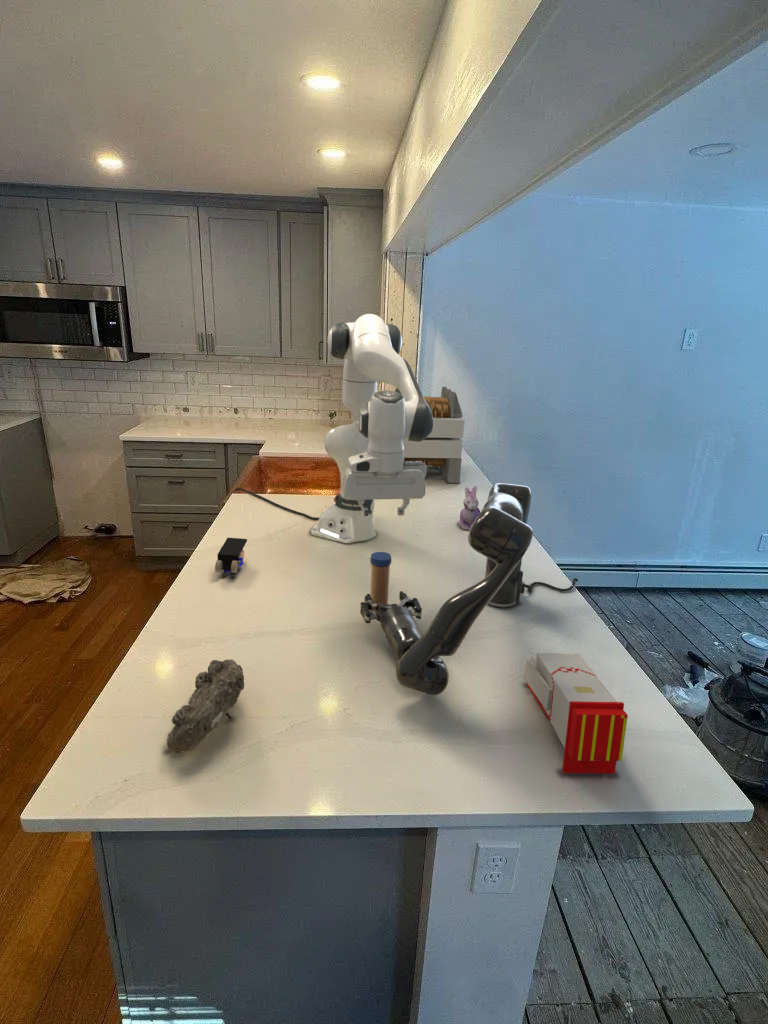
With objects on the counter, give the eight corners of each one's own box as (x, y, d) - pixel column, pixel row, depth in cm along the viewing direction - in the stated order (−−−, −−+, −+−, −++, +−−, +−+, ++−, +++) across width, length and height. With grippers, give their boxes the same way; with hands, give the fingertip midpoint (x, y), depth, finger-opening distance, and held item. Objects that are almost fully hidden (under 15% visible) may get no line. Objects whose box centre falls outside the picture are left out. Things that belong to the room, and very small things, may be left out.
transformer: (382, 463, 289) (386, 382, 275) (445, 464, 293) (451, 384, 279) (390, 482, 257) (394, 392, 243) (460, 483, 261) (468, 394, 247)
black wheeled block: (238, 584, 162) (249, 557, 175) (236, 562, 158) (247, 536, 172) (215, 584, 161) (227, 556, 175) (212, 561, 158) (225, 535, 171)
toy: (573, 635, 123) (638, 710, 94) (567, 691, 126) (628, 782, 97) (518, 633, 123) (565, 709, 93) (513, 690, 125) (557, 781, 96)
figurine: (467, 532, 204) (471, 492, 198) (451, 522, 212) (455, 484, 207) (488, 528, 208) (493, 489, 203) (472, 519, 216) (476, 482, 211)
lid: (395, 564, 144) (395, 558, 143) (376, 568, 141) (376, 561, 141) (385, 556, 148) (385, 550, 147) (366, 560, 146) (367, 553, 145)
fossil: (192, 660, 117) (244, 628, 112) (224, 691, 120) (276, 661, 115) (142, 746, 98) (202, 712, 93) (182, 779, 101) (242, 748, 96)
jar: (390, 612, 148) (393, 559, 143) (374, 615, 146) (376, 562, 141) (382, 603, 152) (385, 552, 147) (366, 607, 150) (368, 555, 145)
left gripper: (424, 457, 140) (420, 510, 145) (341, 457, 137) (340, 511, 141) (430, 464, 135) (426, 518, 139) (345, 464, 131) (344, 520, 135)
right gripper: (432, 612, 128) (412, 580, 143) (370, 618, 125) (356, 584, 140) (429, 641, 131) (410, 606, 146) (369, 647, 127) (356, 611, 142)
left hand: (382, 515), depth 140 cm, fingers open, 8 cm apart
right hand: (384, 595), depth 143 cm, fingers open, 8 cm apart
